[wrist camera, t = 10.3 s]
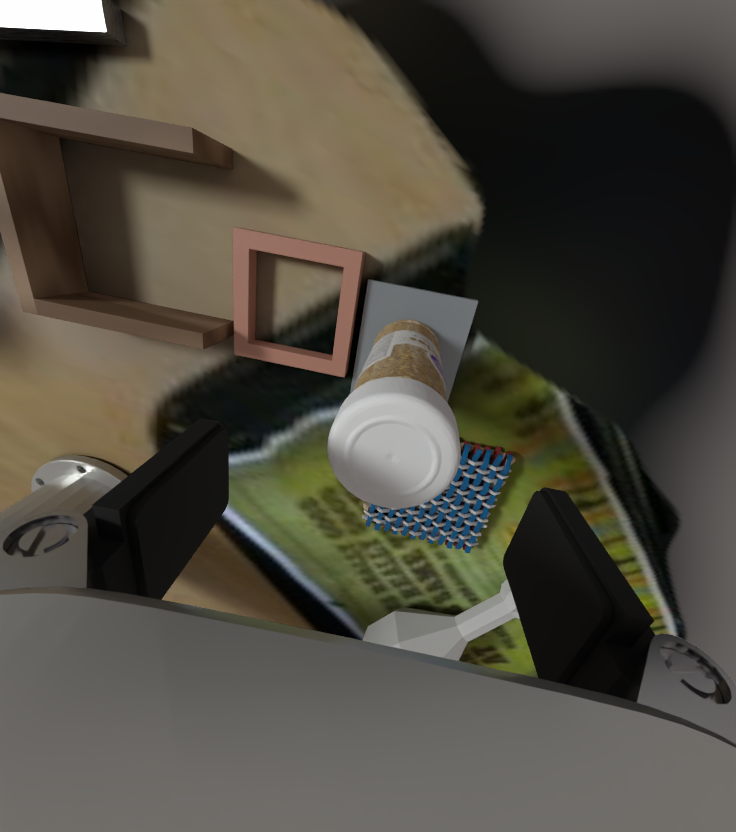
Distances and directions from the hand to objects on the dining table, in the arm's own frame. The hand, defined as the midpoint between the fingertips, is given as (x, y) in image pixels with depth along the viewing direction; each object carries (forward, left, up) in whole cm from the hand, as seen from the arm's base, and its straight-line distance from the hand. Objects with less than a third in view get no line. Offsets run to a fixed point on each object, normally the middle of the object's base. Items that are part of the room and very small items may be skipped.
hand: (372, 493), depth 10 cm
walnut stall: (+5, +18, -15) cm, 24 cm away
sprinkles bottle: (0, 0, -15) cm, 15 cm away
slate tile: (+1, -1, -15) cm, 15 cm away
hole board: (+2, +7, -15) cm, 17 cm away
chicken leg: (-24, -10, -16) cm, 31 cm away
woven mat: (-10, -5, -16) cm, 20 cm away
